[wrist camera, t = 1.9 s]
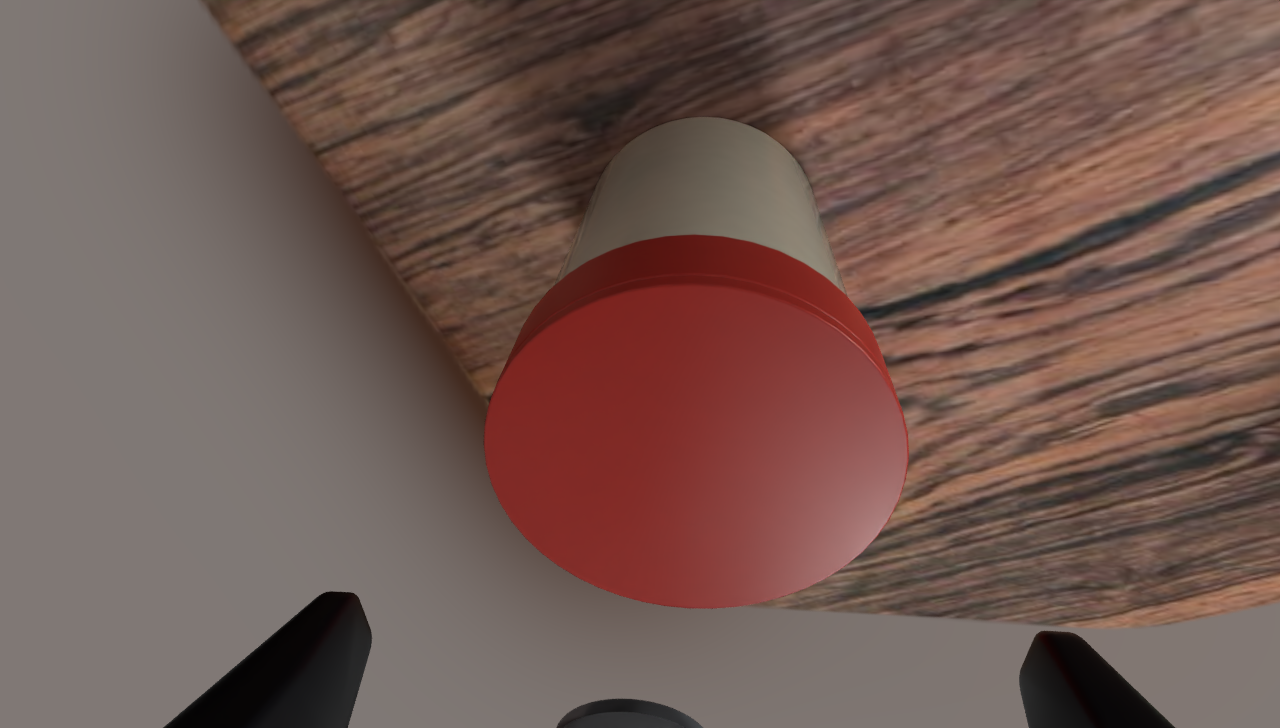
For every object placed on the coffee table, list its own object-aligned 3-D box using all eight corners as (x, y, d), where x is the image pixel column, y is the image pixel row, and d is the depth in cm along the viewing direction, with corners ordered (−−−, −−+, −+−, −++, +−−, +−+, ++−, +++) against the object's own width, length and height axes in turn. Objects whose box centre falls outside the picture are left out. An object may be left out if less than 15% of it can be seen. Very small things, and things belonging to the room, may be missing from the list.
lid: (857, 548, 15) (873, 621, 13) (532, 533, 15) (512, 602, 14) (918, 233, 11) (950, 287, 9) (483, 231, 12) (449, 280, 10)
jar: (805, 333, 21) (859, 593, 13) (595, 330, 22) (526, 576, 14) (830, 114, 18) (923, 287, 10) (579, 117, 18) (475, 283, 10)
